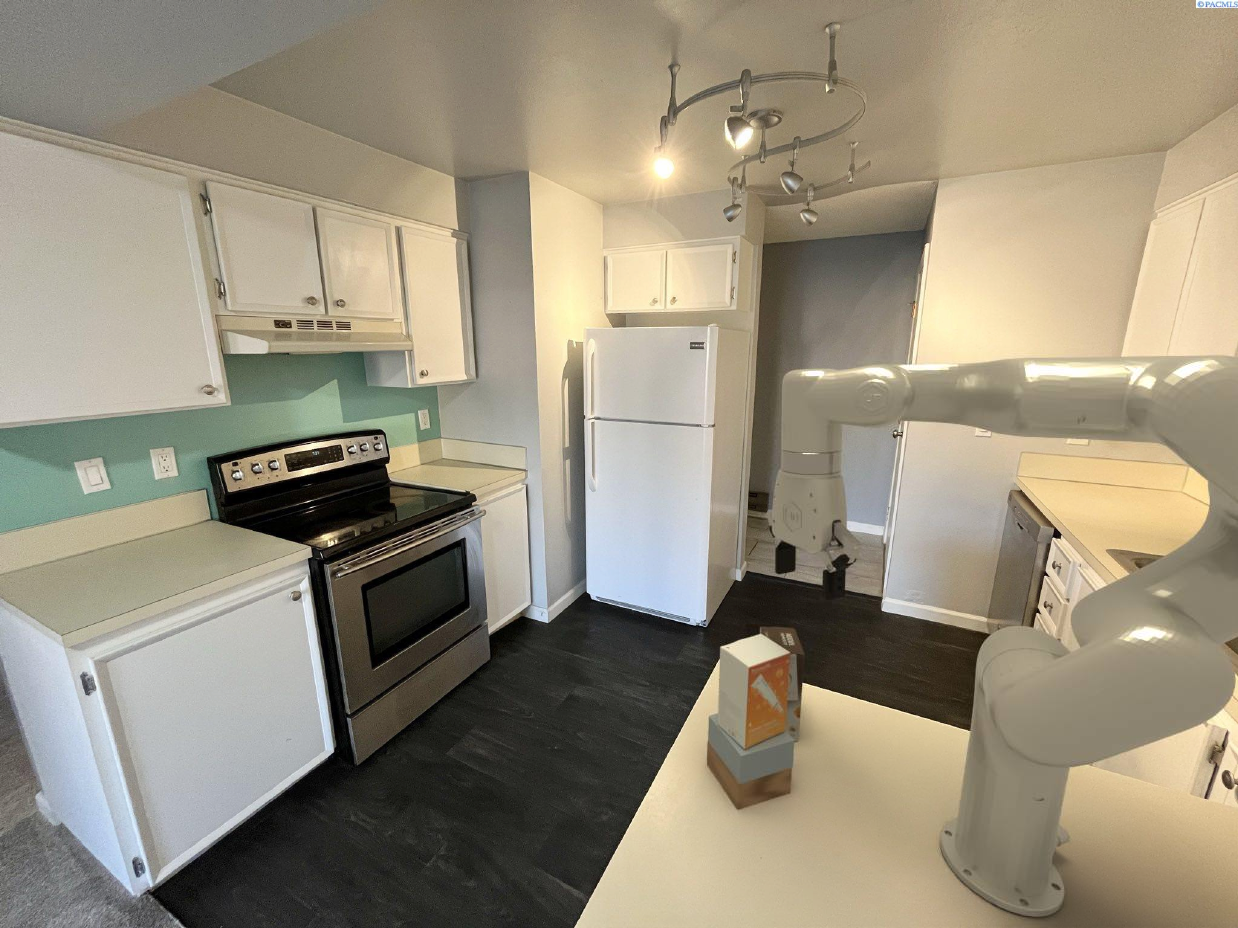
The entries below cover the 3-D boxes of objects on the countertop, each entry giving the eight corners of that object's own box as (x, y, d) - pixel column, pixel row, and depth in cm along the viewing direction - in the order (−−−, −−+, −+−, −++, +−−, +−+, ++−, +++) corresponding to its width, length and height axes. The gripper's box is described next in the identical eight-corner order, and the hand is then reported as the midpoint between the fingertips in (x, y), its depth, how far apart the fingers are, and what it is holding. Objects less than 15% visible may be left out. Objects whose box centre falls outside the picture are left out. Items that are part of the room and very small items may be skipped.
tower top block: (756, 727, 84) (757, 702, 84) (792, 767, 76) (794, 740, 75) (708, 741, 81) (708, 715, 80) (739, 783, 73) (741, 755, 72)
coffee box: (800, 742, 87) (806, 655, 84) (760, 738, 88) (765, 652, 85) (790, 707, 96) (795, 627, 93) (754, 704, 97) (758, 624, 94)
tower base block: (755, 751, 85) (756, 727, 84) (790, 794, 77) (792, 767, 76) (706, 765, 82) (707, 740, 81) (737, 811, 74) (738, 783, 73)
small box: (745, 751, 73) (748, 667, 71) (716, 724, 78) (718, 645, 76) (787, 732, 77) (791, 651, 74) (757, 707, 82) (760, 632, 80)
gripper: (749, 456, 76) (748, 568, 79) (835, 476, 60) (831, 615, 63) (791, 452, 78) (789, 560, 81) (885, 470, 62) (879, 604, 65)
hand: (807, 584), depth 72 cm, fingers open, 9 cm apart
